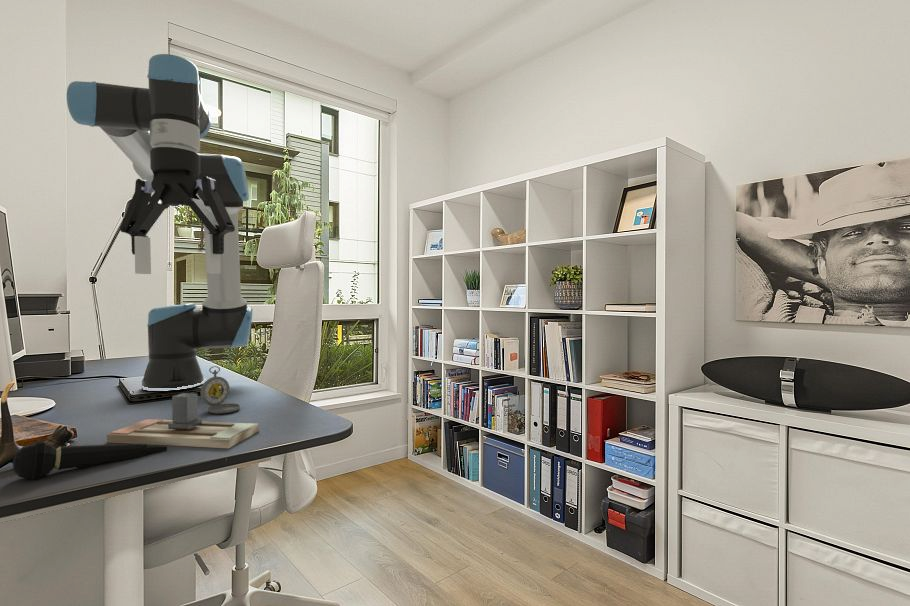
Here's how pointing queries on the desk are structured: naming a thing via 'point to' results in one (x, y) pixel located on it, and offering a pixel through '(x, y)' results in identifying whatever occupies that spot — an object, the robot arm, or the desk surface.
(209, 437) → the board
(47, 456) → the microphone
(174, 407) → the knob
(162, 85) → the robot arm
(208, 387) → the pocket watch
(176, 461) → the desk surface
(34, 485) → the desk surface
